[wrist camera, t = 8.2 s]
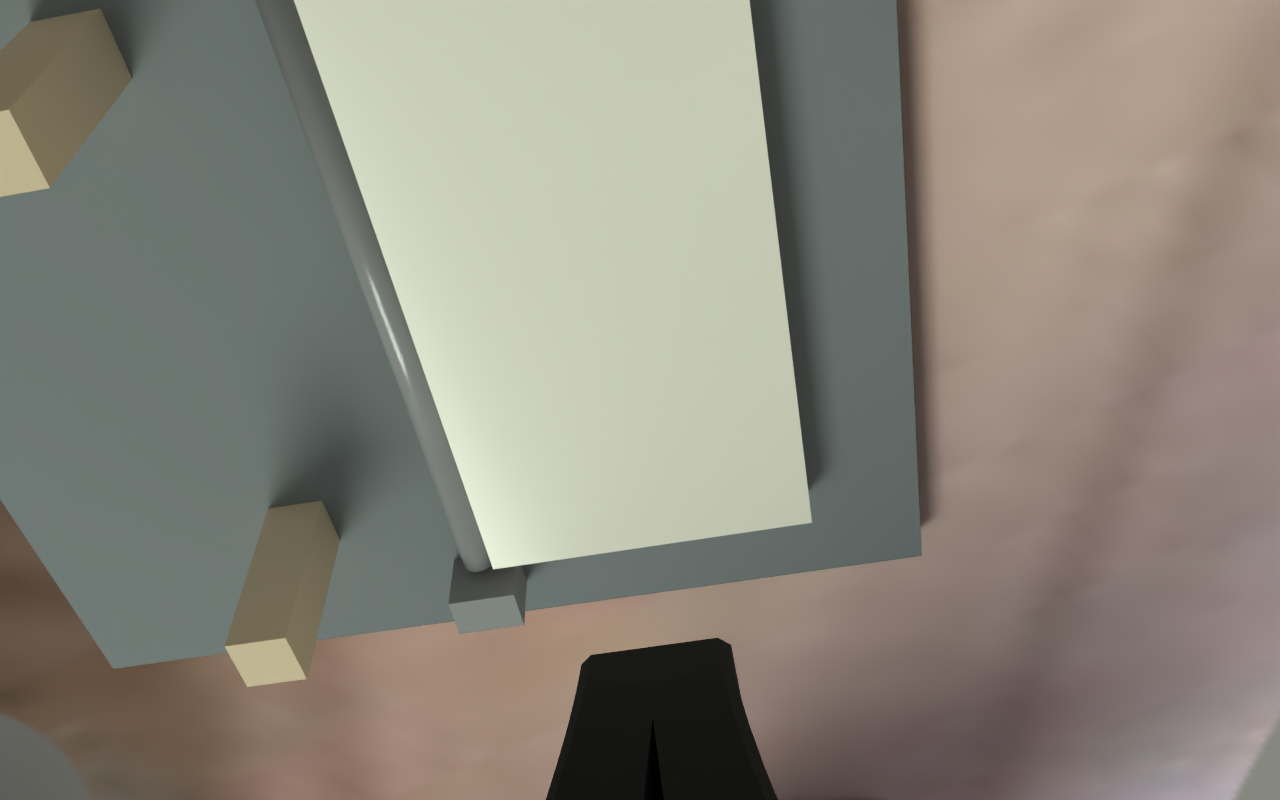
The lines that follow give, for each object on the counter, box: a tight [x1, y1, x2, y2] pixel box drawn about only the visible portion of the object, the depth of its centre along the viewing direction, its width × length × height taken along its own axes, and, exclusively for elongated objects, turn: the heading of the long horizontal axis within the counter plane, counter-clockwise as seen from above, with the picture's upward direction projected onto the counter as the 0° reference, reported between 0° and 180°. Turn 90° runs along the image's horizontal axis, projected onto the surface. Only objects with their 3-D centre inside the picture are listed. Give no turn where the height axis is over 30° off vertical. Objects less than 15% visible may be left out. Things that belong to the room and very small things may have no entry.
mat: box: [0, 0, 922, 687], centre depth 18 cm, size 15×16×4 cm
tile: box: [255, 0, 812, 572], centre depth 19 cm, size 11×6×1 cm, turn 10°
